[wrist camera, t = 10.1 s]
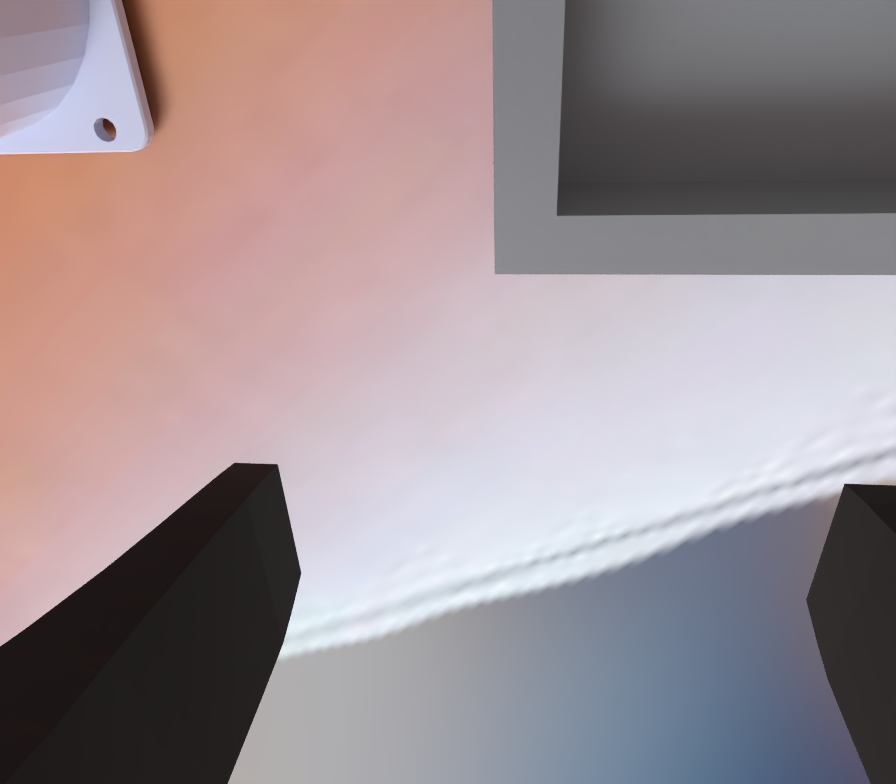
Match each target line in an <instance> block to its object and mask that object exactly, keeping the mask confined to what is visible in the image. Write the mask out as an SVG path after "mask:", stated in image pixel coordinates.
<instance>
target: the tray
mask: <svg viewBox="0 0 896 784" xmlns="http://www.w3.org/2000/svg"><path fill="white" fill-rule="evenodd" d="M493 113H494V236H495V274H705V275H896V0H493Z"/></svg>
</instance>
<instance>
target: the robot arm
mask: <svg viewBox="0 0 896 784" xmlns="http://www.w3.org/2000/svg"><path fill="white" fill-rule="evenodd" d="M104 118H105V119H108V120H109V121H110V122H112V123H113V125H114V126H115V128H116V138H114V137H111V136H110V135H109V134H107V133H106V131H105V129H104V127H103V120H104ZM153 137H154V126H153V122H152V118H151V114H150V110H149V106H148V102H147V98H146V94H145V90H144V86H143V82H142V78H141V74H140V70H139V66H138V62H137V58H136V54H135V50H134V46H133V42H132V39H131V35H130V31H129V27H128V23H127V19H126V15H125V11H124V7H123V3H122V0H0V154H38V153H89V152H134V151H138V150H141V149H143V148H145V147H147V146H148V145H149V144H150V143H151V142H152V139H153ZM300 576H301V570H300V566H299V561H298V556H297V552H296V547H295V542H294V538H293V533H292V529H291V524H290V519H289V515H288V510H287V505H286V501H285V496H284V492H283V487H282V482H281V478H280V473H279V468H278V464H250V463H234V464H232V465H231V466H230V467H229V468H227V469H226V470H225V471H223V472H222V473H221V474H220V475H218V476H217V477H216V478H215V479H213V480H212V481H211V482H210V483H209V484H207V485H206V486H205V487H204V488H202V489H201V490H200V491H199V492H198V493H197V494H195V495H194V496H193V497H192V498H191V499H189V500H188V501H187V502H186V503H185V504H183V505H182V506H181V507H180V508H179V509H177V510H176V511H175V512H174V513H173V514H171V515H170V516H169V517H168V518H167V519H165V520H164V521H163V522H162V523H161V524H159V525H158V526H157V527H156V528H155V529H153V530H152V531H151V532H150V533H148V534H147V535H146V536H145V537H144V538H142V539H141V540H140V541H139V542H137V543H136V544H135V545H134V546H133V547H131V548H130V549H129V550H128V551H126V552H125V553H124V554H123V555H122V556H120V557H119V558H118V559H117V560H115V561H114V562H113V563H112V564H111V565H109V566H108V567H107V568H105V569H104V570H103V571H102V572H100V573H99V574H98V575H96V576H95V577H94V578H92V579H91V580H90V581H88V582H87V583H86V584H84V585H83V586H82V587H80V588H79V589H78V590H76V591H75V592H74V593H72V594H71V595H70V596H68V597H67V598H66V599H65V600H63V601H62V602H61V603H59V604H58V605H57V606H55V607H54V608H53V609H51V610H50V611H49V612H47V613H46V614H45V615H43V616H42V617H41V618H39V619H38V620H37V621H35V622H34V623H33V624H31V625H30V626H29V627H27V628H26V629H25V630H23V631H22V632H20V633H19V634H18V635H16V636H15V637H13V638H12V639H10V640H9V641H8V642H6V643H5V644H3V645H2V646H0V784H228V781H229V779H230V776H231V774H232V771H233V769H234V766H235V764H236V761H237V758H238V756H239V754H240V751H241V749H242V746H243V744H244V741H245V739H246V736H247V734H248V731H249V729H250V726H251V724H252V721H253V719H254V716H255V714H256V711H257V709H258V706H259V704H260V701H261V699H262V696H263V694H264V691H265V688H266V686H267V683H268V681H269V678H270V676H271V673H272V671H273V668H274V665H275V663H276V660H277V658H278V655H279V652H280V650H281V647H282V645H283V642H284V638H285V634H286V631H287V627H288V623H289V620H290V616H291V612H292V609H293V604H294V600H295V596H296V592H297V588H298V584H299V580H300ZM806 600H807V604H808V608H809V612H810V616H811V620H812V624H813V627H814V632H815V636H816V639H817V643H818V647H819V650H820V654H821V657H822V661H823V664H824V668H825V671H826V675H827V678H828V680H829V683H830V686H831V688H832V691H833V693H834V696H835V698H836V701H837V703H838V706H839V708H840V710H841V713H842V715H843V718H844V720H845V723H846V725H847V728H848V730H849V733H850V735H851V737H852V740H853V742H854V745H855V747H856V749H857V752H858V754H859V757H860V759H861V761H862V764H863V766H864V769H865V771H866V773H867V776H868V778H869V780H870V783H871V784H896V486H892V485H863V484H844V487H843V490H842V493H841V496H840V500H839V503H838V506H837V508H836V511H835V515H834V518H833V521H832V524H831V527H830V530H829V533H828V536H827V539H826V542H825V545H824V548H823V551H822V554H821V557H820V560H819V563H818V566H817V569H816V572H815V575H814V579H813V581H812V584H811V587H810V591H809V593H808V597H807V599H806Z"/></svg>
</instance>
